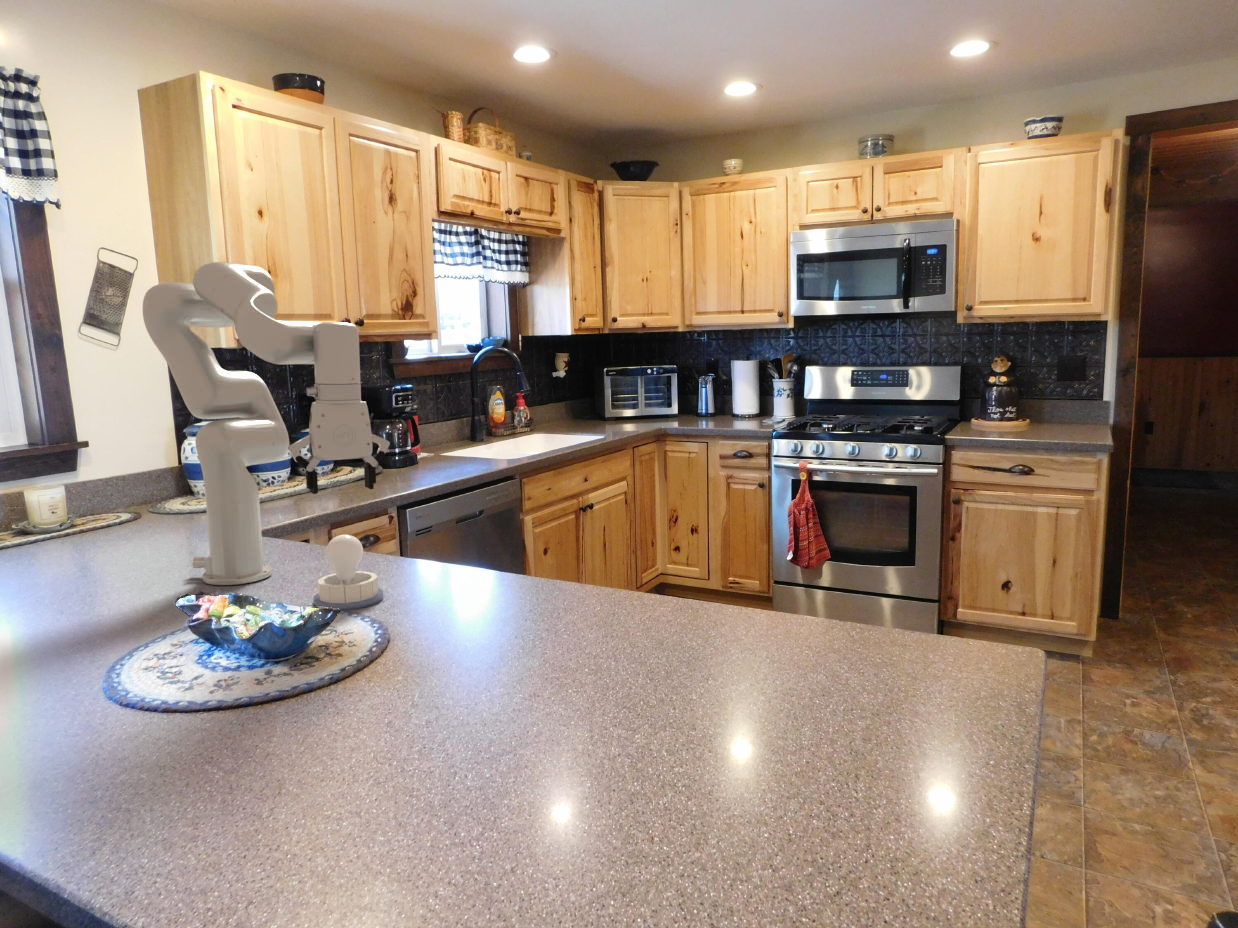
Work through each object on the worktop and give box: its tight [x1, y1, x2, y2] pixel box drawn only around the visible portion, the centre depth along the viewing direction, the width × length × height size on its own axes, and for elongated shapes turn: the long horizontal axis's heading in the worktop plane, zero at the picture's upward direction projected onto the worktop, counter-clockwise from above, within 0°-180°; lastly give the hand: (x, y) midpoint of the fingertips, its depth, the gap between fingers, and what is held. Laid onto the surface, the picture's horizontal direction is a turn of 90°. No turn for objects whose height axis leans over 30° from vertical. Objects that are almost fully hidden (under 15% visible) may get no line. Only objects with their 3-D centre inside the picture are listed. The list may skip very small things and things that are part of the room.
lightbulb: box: [325, 534, 364, 585], centre depth 146 cm, size 6×6×11 cm
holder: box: [312, 570, 384, 611], centre depth 147 cm, size 12×12×4 cm
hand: (342, 490), depth 145 cm, fingers open, 9 cm apart
